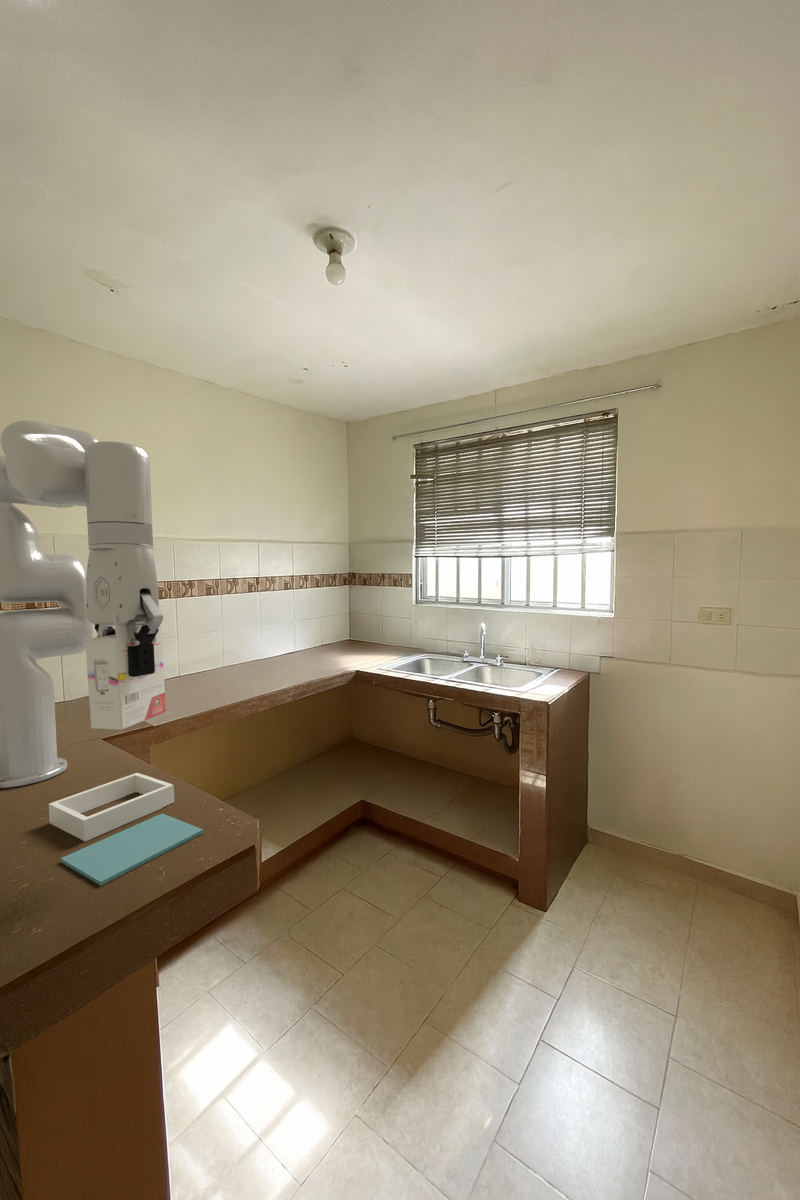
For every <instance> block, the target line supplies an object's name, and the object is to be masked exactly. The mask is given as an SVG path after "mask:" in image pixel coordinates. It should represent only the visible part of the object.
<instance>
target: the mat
mask: <svg viewBox="0 0 800 1200" xmlns="http://www.w3.org/2000/svg"><path fill="white" fill-rule="evenodd" d="M203 834H204V829H203V828H201V827H199V826H196V825H194V824H193V825H192V824H190V823H188V822H186V821H183V820H181V819H178V818H175V817H172V816H170V815H167V814H165V813H159V814H158V815H155V816H152V817H151V818H148V819H146V820H143V821H141V822H140V823H137V824H135V825H132V826H131V827H128V828H126V829H124V830H122V831H120V832H117V833H115V834H111V836H108V837H105V838H103V839H101V840H99V841H97V842H94V843H92V844H90V845H87V846H86V847H83V848H81V849H79V850H76V851H74V852H72V853H70V854H68V855H65V856H63V857H61V858H60V863H61V864H63V865H65V866H66V867H68V868H70V869H72V870H73V871H75V872H77V874H80V875H81V876H82V877H83V876H84V877H85V878H86V879H88V880H90V881H91V882H93V883H95V884H97V885H99V887H102V886H105V885H106V884H108V883H111V882H112V881H113V880H115V879H118V878H119V877H121V876H123V875H125V874H126V873H129V872H131V871H132V870H134V869H137V868H138V867H140V866H142V865H144V864H146V863H148V862H150V861H153V859H156V858H158V857H160V856H161V855H164V854H166V853H167V852H169V851H171V850H174V849H175V848H177V847H179V846H181V845H184V843H186V842H188V841H191V840H192V839H194V838H197V837H198V836H201V835H203Z"/></svg>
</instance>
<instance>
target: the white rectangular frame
mask: <svg viewBox="0 0 800 1200" xmlns="http://www.w3.org/2000/svg"><path fill="white" fill-rule="evenodd" d="M174 786H175V785H174V784H172V783H169V782H166V781H163V780H161V779H157V778H155V777H151V776H149V775H146V774H142V773H139V772H136V773H132V774H130V775H127V776H124V777H120V778H118V779H116V780H112V781H110V782H107V783H104V784H101V785H98V786H95V787H93V788H91V789H88V790H84V791H81V792H79V793H76V794H73V795H70V796H67V797H64V798H62V799H58V800H56V801H53V802H50V803H48V812H49V814H48V815H49V824H50V825H52V826H54V827H56V828H58V829H60V830H62V831H64V832H66V833H68V834H70V835H72V836H74V837H76V838H77V839H80V840H81V841H83V842H87V841H91V840H92V839H94V838H96V837H99V836H101V835H103V834H106V833H108V832H110V831H112V830H115V829H117V828H119V827H121V826H122V827H123V826H124V825H127V824H128V823H131V822H133V821H136V820H138V819H141V818H143V817H145V816H147V815H150V814H152V813H154V812H156V811H159V810H162V809H163V807H164V808H165V806H166V807H168V806H170V805H169V804H171V803H173V802H174V803H175V787H174ZM134 792H135V793H137V792H138V793H137V794H139V796H136V797H134V798H132V799H129V800H126V801H123V802H122V803H118V804H116V805H113V806H111V807H108V808H105V809H104V810H101V811H98V812H96V813H93V814H91V815H89V816H87V815H84V814H83V813H86V812H88V811H91V810H93V809H96V808H98V807H103V805H106V804H109V803H111V802H114V801H117V800H119V799H122V798H124V797H127V795H128V796H130V795H132V793H133V794H135V793H134ZM129 794H130V795H129ZM142 794H143V795H142ZM174 803H173V804H174ZM167 805H168V806H167ZM171 805H172V804H171Z"/></svg>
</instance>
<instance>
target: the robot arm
mask: <svg viewBox="0 0 800 1200" xmlns="http://www.w3.org/2000/svg"><path fill="white" fill-rule="evenodd" d="M0 447H1V449H2V451H3V454H0V603H5V604H29V603H32V604H33V603H36V604H37V603H56V604H57V605H58V606H59V608H44V609H43V608H35V609H32V608H31V609H18V610H4V611H0V789H3V788H4V789H6V788H15V787H22V786H27V785H31V784H36V783H39V782H42V781H45V780H48V779H51V778H53V777H55V776H58V775H59V774H61V773H63V772H65V771H66V769H67V768H68V761H67V759H65V758H62V757H58V745H57V743H58V742H57V730H56V729H57V727H56V709H55V708H56V707H55V689H54V681H53V678H52V676H51V675H50V673H48V671H46V669H44V668H42V667H41V666H40V665H39V664H38V662H37V660H42V659H45V658H46V659H47V658H54V657H62V656H63V657H64V656H69V655H70V656H71V655H76V654H77V655H78V654H81V653H83V652H86V643H85V639H88V638H94V635H93V633H94V631H93V630H95V631H96V634H97V635H96V637H102V636H109V635H115V634H116V632H115V624H114V615H116V617H117V623H118V624H119V625H125V624H127V631H128V635H129V638H130V642H131V645H132V646H128V667H129V676H130V677H137V676H143V675H148V674H153V673H154V672H155V661H154V644H155V643H156V637H155V636H156V634H157V633H158V630H159V629H158V628H159V626H160V627H161V625H162V622H163V621H164V615H163V613H162V612H161V610H160V604H159V603H160V602H159V601H160V600H159V599H160V598H159V587H158V586H159V585H158V576H157V569H156V563H155V557H154V553H153V551H154V534H153V532H154V531H153V510H152V509H153V507H152V506H153V504H152V487H151V485H152V483H151V482H152V481H151V466H150V465H151V464H150V457H149V454H148V453H147V452H146V451H145V450H144V449H143V448H142V447H139V446H137V445H134V444H131V443H126V442H121V441H109V440H107V441H99V440H98V438H96V437H95V436H94V435H92V434H91V433H89V432H87V431H83V430H79V429H75V428H74V429H73V428H69V427H64V426H60V425H55V424H50V423H45V422H40V421H35V420H19V421H15V422H12V423H10V424H8V425H7V426H6V427H5V428H4V429H3V430H2V432H1V435H0ZM14 504H21V505H28V506H38V507H39V506H41V507H50V508H62V509H64V508H73V507H75V506H77V507H86V519H87V520H86V522H87V539H88V540H87V543H88V550H89V554H88V556H87V557H88V559H87V567H84V565H83V563H82V562H81V561H80V560H79V558H76V557H75V556H72V555H67V554H50V553H49V554H46V553H45V554H44V553H43V552H42V551H41V548H40V540H39V539H40V537H39V532H38V528H37V527H36V525H35V524H34V523H33V521H31V519H30V518H29V517H28V516H27V515H26V514H25V513H24V512H23V511H22V510H21V509H19V508H18V507H16V506H15V505H14ZM85 568H86V569H85ZM134 618H138V619H136V621H133V620H134ZM139 618H142V620H140V619H139ZM93 624H94V629H93ZM139 627H141V629H140V630H139V632H138V633H137V629H136V628H139Z"/></svg>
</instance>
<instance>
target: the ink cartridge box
mask: <svg viewBox="0 0 800 1200" xmlns="http://www.w3.org/2000/svg"><path fill="white" fill-rule="evenodd" d="M136 619H138V618H134V620H133V621H136ZM139 619H140V620H142V618H139ZM114 624H115V626H114V630H115V632H116V634H115V635H109V636H102V637H97V636H95V637H93V638H88V639H85V643H86V651H85V655H86V670H87V671H86V672H87V685H88V686H87V687H88V700H89V714H90V715H89V717H90V729H100V730H102V729H103V730H125V729H127V728H129V727H131V726H134V725H137V724H139V723H142V722H144V721H146V720H148V719H149V720H150V719H151V718H154V717H156V716H158V715H161V714H164V713H165V712H167V711H166V710H167V709H166V708H167V707H166V693H165V692H166V690H165V689H166V688H165V687H166V686H165V673H164V672H165V670H164V653H163V633H162V630H161V625H160V626H159V628H158V629H159V630H158V633H157V634H156V636H155V637H156V643H155V644H154V661H155V672H154V673H153V674H148V675H143V676H137V677H130V676H129V667H128V646H132V645H131V642H130V638H129V635H128V631H127V624H125V625H119V624H118V623H117V617H116V615H114ZM136 629H137V633H138V632H139V630H140V629H141V627H139V628H136Z"/></svg>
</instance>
